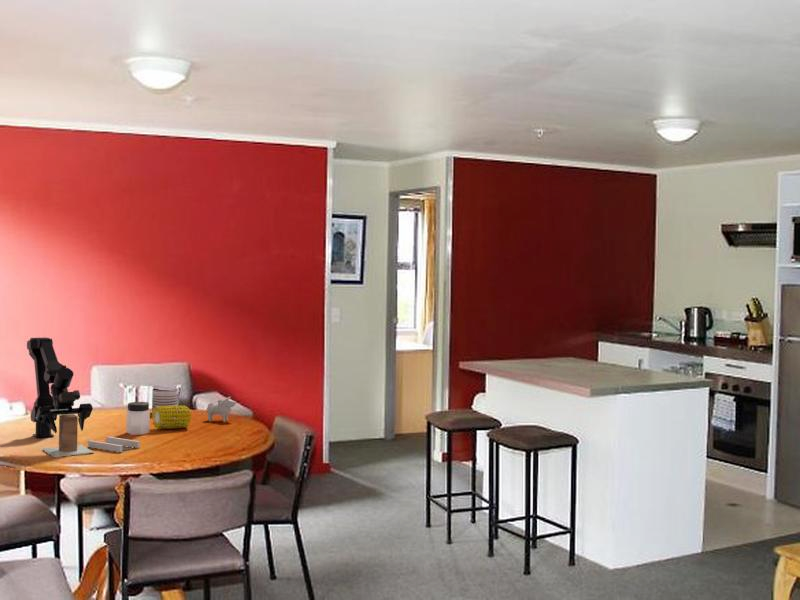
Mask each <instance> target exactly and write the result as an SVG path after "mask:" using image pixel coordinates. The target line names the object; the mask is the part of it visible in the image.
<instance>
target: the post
mask: <svg viewBox="0 0 800 600" xmlns="http://www.w3.org/2000/svg"><path fill="white" fill-rule="evenodd" d="M58 417H59V418H58V421H59V422H58V447H59V450H60V451H62V452H71V451H77V445H78V424H79V421H78V418H79V417H78V415H76V414H69V415H58Z"/></svg>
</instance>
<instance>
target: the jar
mask: <svg viewBox="0 0 800 600" xmlns="http://www.w3.org/2000/svg"><path fill="white" fill-rule="evenodd" d="M149 403H150V402H147V401H133V402H128V403H127V409H126V433H127V434H128V435H131V436H132V435H133V436H135V435H136V436H137V435H139V436H140V435H147V434H149V433H150V424H151V423H150V419H151V418H150V417H151V413H150V412H151V410H150V409H149V408H150V407H149V406H150V405H149Z"/></svg>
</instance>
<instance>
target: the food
mask: <svg viewBox="0 0 800 600" xmlns="http://www.w3.org/2000/svg"><path fill="white" fill-rule="evenodd" d="M151 413H152V414H151V415H152V416H151V417H152V424H153V427H154V428H156V429H159V430H160V429H164V430H166V429H167V430H168V429H185V428H189V425H190V424H191V420H192V416H191V415H192V413H191V409H190V408H189V407H188V406H187V405H178V406H176V405H175V406H173V405H172V406H156V407H155V408H154V409H153V411H152V410H151Z"/></svg>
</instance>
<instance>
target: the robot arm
mask: <svg viewBox="0 0 800 600" xmlns="http://www.w3.org/2000/svg"><path fill="white" fill-rule="evenodd" d="M53 341H54V340H53V338H50V337H46V336H45V337H30V339H29V340H27V342H26V349H27V350H28V355H29V356H30V357H31V359H32V360H33V361H34V374H35V383H36V395H37V397H36V398H35V400H34V403H33V407H32V410H31V413H30V421H31V422H33V423H35V433H32V437H34V438H36V439H41V438H52V437H55V435H54V434H57V432H58V429H57V424H56V421H57V419H58V416H59V415H70V414H74V415H76V414H77V416H78V424H79V428H80V430H81V432H83V431H84V426H85V421H86V420H87V418H90V416H91V414H92V412H93V409H94V408H93V405H92V403H89V402H87V403H86V402H85V403H80V405H79V406H78V407H75V408H73V407H74V405H75V401H77V400H79V399H81V394H80V391H79V389H76V390H73V391H69V389H68V388H69V387H70V385H71V383H72V381H73V377H74V371H73V370H71V368H69V367H67V365H65V364H64V365H63V364H62V363H60V362H59V360H58V357H57V354H56V351H55V349H54V344H53V343H54V342H53ZM50 384H51V386H50ZM52 432H54V434H53V433H52Z"/></svg>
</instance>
